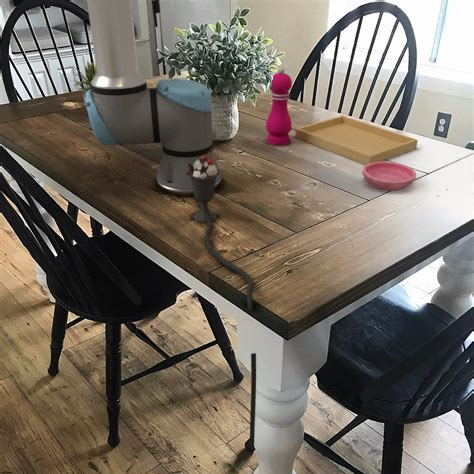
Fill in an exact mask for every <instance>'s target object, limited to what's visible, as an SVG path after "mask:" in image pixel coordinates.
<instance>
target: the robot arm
mask: <svg viewBox="0 0 474 474" xmlns="http://www.w3.org/2000/svg"><path fill="white" fill-rule="evenodd" d="M86 4H87V12H88V18H89V23H90V24H89V25H90V32H91V40H92V48H93V54H94V63H95V64H96V70H97V74H96V76H95V77H94V76H93V80H92V81H91V87H92V90H91V89H90V90H89V91H85V94H86V104H87V107H86V111H87V114H88V119H89V123H90V126H91V129H92V131H93V134H94V136H95V138H96V140H97V141H98V142H99V143H100V144H102V145H104V146H118V147H121V146H126V145H128V146H129V145H144V144H145V145H146V144H147V145H148V144H161V150H162V153H161V158H160V162H159V166H158V170H157V174H156V175H157V176H156V185H157V187H158V189H159V190H160V191H162V192H164V193H166V194H169V195H172V196H176V197H177V196H178V197H195V195H194V192H193V186H192V181H191V178H190V176H188V175H186V173H187V172H188V170H189V169H190V168H189V166H188V164H187V163H191V164H192V166H193V167H194V163H195V162H196V161H197V160H198V159H200V158H202V156H203V155H206V154H207V153H208V152H209V153H208V154H207V155H206V156H207V159H210V158H211V159H212V160H213V164H214V165H215V167H216V168H217V169H218V170H219V172H220V175H218V176H217V177H216V182H215V191H216V190H217V189H219V188H220V186H221V185H222V174H221V170H220V168H219V165H218V162H217V159H216V156H215V154H214V150H210V148H213V149H214V145H213V142H214V141H213V120H212V117H213V116H212V112H213V108H214V107H213V106H212V94H211V91H210V89H209V88H208V87H207V86H206V85H205V84H203V83H200V82H198V81H195V80H191V79H185V78H174V77H173V78H172V77H171V78H170V77H169V78H162V79H159V80H158V81H157V83H156V85H155V87H148V84H147V78H146V77H144V76H143V75H142V74H141V73H140V71H139V65H138V55H137V45H136V44H137V43H136V35H135V25H134V15H133V3H132V0H86ZM151 6H152V14H153V21H154V28H158V27H159V26H158V25H159V24H158V18H157V17H158V16H157V14H161V8H160V7H161V6H160V0H151ZM86 104H85V105H86ZM211 151H212V152H211ZM210 152H211V154H210ZM209 156H210V157H209ZM197 202H198V205H199V207H200V209H201V210H202V203H201V202H200V201H198V200H197ZM201 210H200V211H201ZM205 217H206V220H207V222H206V223H207V227H206V231H205V233H204V244H205V247H206V248H207V250H208V251H209V253H210V254H211V255H212V256H214V258H215V259H216V260H217V261H219V262H220V263H221V264H222V265H223V266H224V267H226V268H227V269H230V270H231V271H233V272H235V273H236V274H239V275H240V276H241V277H242V278H243V279H244V280H245V281H246V283H247V289H246V305H247V306H246V307H247V309H248V310H253V309H254V303H253V302H254V301H253V291H254V281H253V280H252V278H251V277H250V275H249V274H248V273H246V271H244V270H243V269H241V268H240V267H238V266H237V265H235V264H234V263H233V264H232V263H231V262H229V261H228V260H226V259H225V258H224V257H223V256H222V255H221V254H219V253H218V251H216V249H215V248H214V247H213V246H212V244H211V242H210V236H211V233H212V229H213V223H212V222H213V221H211V218H210V216H209V215H208V214H207V215H206V216H205ZM250 382H251V383H250V412H249V413H250V415H249V416H250V417H249V449H251V450H254V449H255V437H256V436H255V435H256V434H255V433H256V431H255V430H256V404H257V403H256V401H257V352H253V353H252V352H251V353H250Z"/></svg>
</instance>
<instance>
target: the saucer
mask: <svg viewBox="0 0 474 474" xmlns="http://www.w3.org/2000/svg"><path fill="white" fill-rule="evenodd" d="M361 171H362V175H363V178H364V179H365V180H366V181H367V183H368V184H369V185H370V186H371V187H373V188H375V189H378V190H382V191H388V192H394V191H395V192H396V191H402V190H404V189H406V188H407V187H408V186H411V185H412V183H414V182H415V181H416V179H417V173H416V171H415V170H414V169H413V168H411V167H410V166H408V165H406V164H402V163H398V162H393V161H381V162H374V163H370V164H367V165H366V164H365V166H363V168H362V170H361Z"/></svg>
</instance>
